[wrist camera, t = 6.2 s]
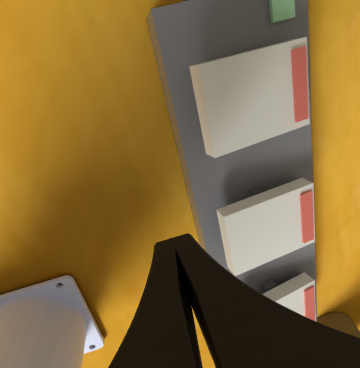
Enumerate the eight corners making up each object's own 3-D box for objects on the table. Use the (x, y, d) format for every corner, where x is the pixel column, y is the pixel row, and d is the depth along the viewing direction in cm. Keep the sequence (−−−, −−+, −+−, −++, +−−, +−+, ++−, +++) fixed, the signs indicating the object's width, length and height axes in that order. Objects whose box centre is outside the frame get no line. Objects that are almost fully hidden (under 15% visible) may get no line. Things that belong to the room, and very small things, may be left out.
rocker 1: (206, 153, 15) (216, 159, 14) (189, 66, 13) (199, 64, 12) (296, 121, 16) (311, 124, 15) (292, 39, 15) (309, 36, 14)
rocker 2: (227, 266, 18) (236, 278, 17) (216, 209, 17) (225, 218, 16) (304, 234, 20) (316, 242, 18) (301, 177, 18) (315, 183, 17)
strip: (219, 328, 27) (233, 365, 23) (146, 19, 16) (152, 6, 13) (297, 302, 27) (322, 335, 24) (276, -12, 17) (315, -32, 13)
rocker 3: (244, 348, 21) (253, 361, 20) (236, 307, 20) (245, 320, 19) (306, 313, 23) (317, 323, 22) (304, 272, 21) (316, 281, 20)
